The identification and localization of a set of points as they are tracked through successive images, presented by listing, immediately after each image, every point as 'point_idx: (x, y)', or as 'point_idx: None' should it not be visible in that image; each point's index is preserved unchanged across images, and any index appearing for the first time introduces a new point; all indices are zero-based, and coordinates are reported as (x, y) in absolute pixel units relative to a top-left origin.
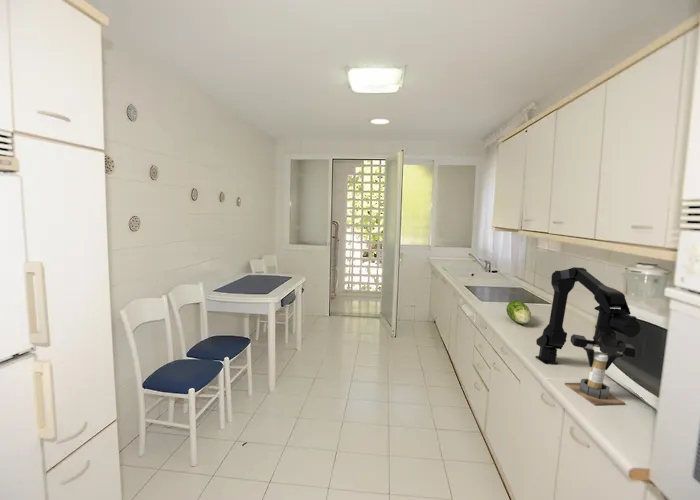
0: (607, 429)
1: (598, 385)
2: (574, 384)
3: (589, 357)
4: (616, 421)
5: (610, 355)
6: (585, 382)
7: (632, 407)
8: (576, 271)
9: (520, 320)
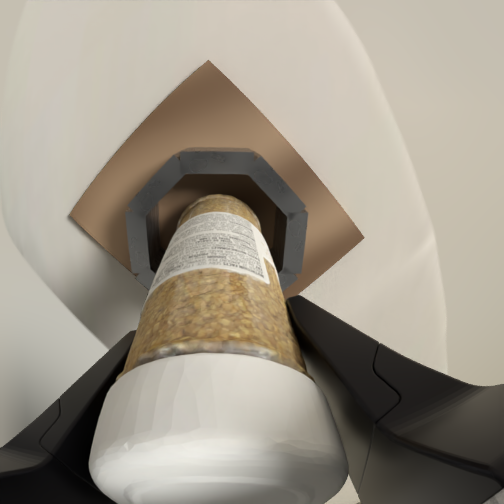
0: None
1: (193, 213)
2: (316, 255)
3: (391, 353)
4: None
5: (65, 500)
6: None
7: (47, 207)
8: None
9: None
